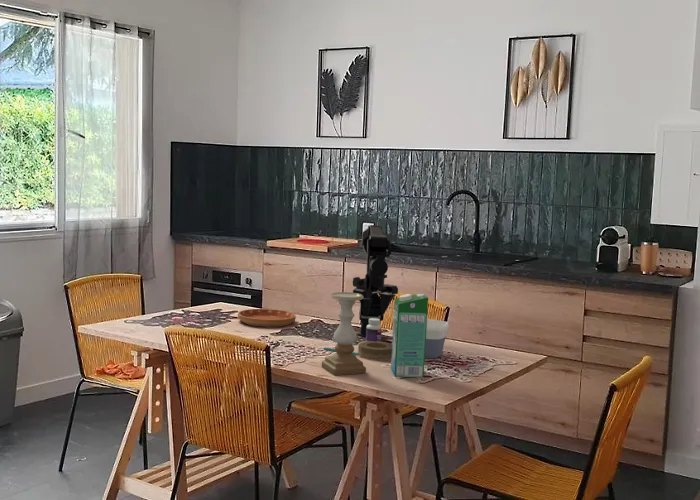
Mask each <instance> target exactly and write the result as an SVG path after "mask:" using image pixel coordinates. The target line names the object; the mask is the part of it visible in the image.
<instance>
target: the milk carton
mask: <svg viewBox="0 0 700 500" xmlns="http://www.w3.org/2000/svg"><path fill="white" fill-rule="evenodd" d="M393 304H394V305H393V318H392V319H393V321H392V322H393V323H392V324H393V325H392V338H391V339H392V341H391V344H392V356H391V359H390V370H391V372H392V374H393V376H394V377H396V378H397V377H399V378H400V377H401V378H424V377H425V375H424V374H425V359H426V358H425V345H426V328H427V319H428V309H429V297H428V296H427V295H426V294H424V293H423V292H421V293H416V294H411V293H407V294H401V295H400V296H398V297H397V298H394V303H393Z"/></svg>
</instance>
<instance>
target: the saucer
mask: <svg viewBox="0 0 700 500" xmlns="http://www.w3.org/2000/svg"><path fill="white" fill-rule="evenodd" d="M237 319H238V320H240V321H241V322H242V323H244V324H246V325H250V326H255V327H263V328H264V327H265V328H266V327H267V328H276V327H284V326H288V325H291V324H292V323H293V322H295V321H296V319H297V316H296V314H295V313H293V312H291V311H288V310H287V311H286V310H281V309H273V308H250V309H249V308H248V309H243V310H240V311H238V313H237Z"/></svg>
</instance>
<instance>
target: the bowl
mask: <svg viewBox="0 0 700 500" xmlns="http://www.w3.org/2000/svg"><path fill="white" fill-rule="evenodd" d="M449 328H450V324H449V322H448V321H444V320H439V319H432V318H431V319H429V318H427V328H426V345H425V359H431V360H432V359H437V358H439V357H440V356H441V355H442V353H443V349H444V344H445V343H446V338H447V335H448V331H449Z"/></svg>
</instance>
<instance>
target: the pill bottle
mask: <svg viewBox="0 0 700 500" xmlns="http://www.w3.org/2000/svg"><path fill="white" fill-rule="evenodd" d="M380 324H381V321H380V319H376V318H370V319H369V325H367V327H366V337H365V342H368V341H377V342H382V326H381V325H380Z"/></svg>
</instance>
